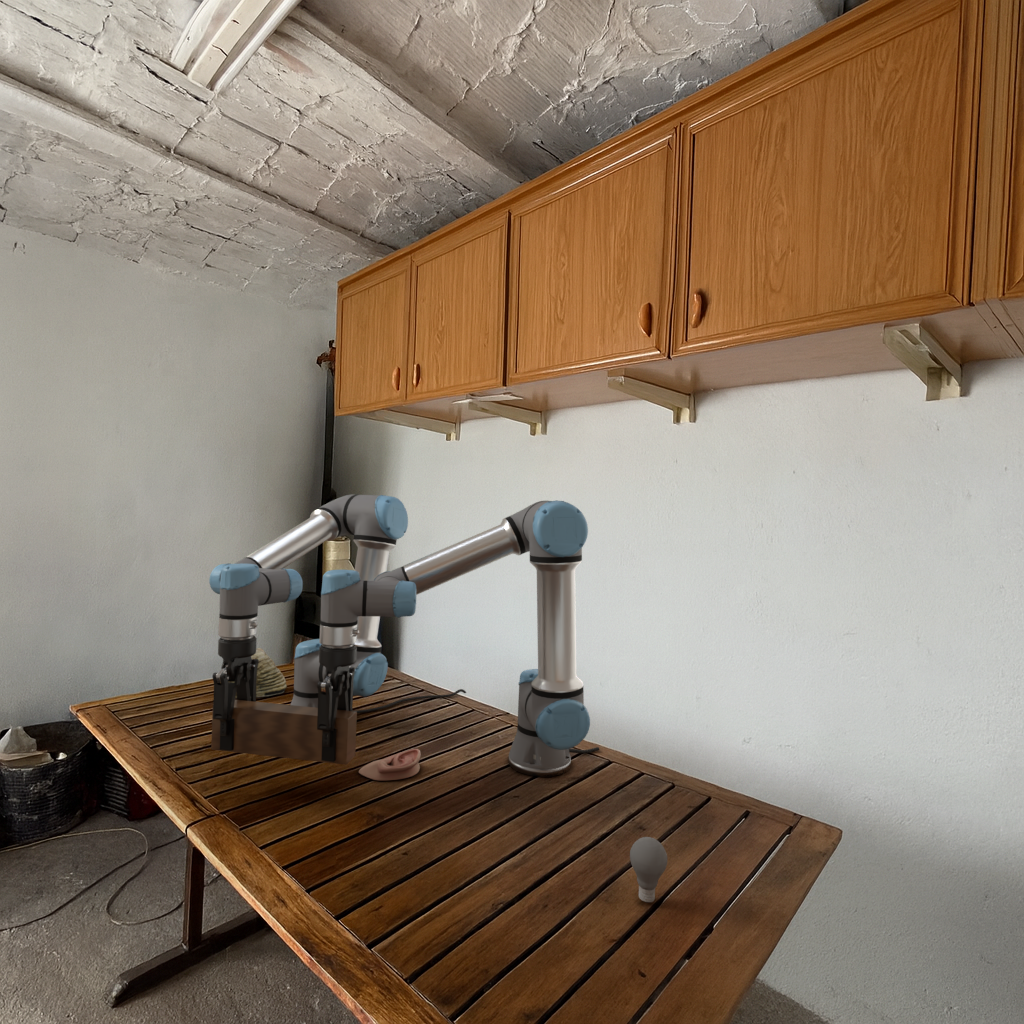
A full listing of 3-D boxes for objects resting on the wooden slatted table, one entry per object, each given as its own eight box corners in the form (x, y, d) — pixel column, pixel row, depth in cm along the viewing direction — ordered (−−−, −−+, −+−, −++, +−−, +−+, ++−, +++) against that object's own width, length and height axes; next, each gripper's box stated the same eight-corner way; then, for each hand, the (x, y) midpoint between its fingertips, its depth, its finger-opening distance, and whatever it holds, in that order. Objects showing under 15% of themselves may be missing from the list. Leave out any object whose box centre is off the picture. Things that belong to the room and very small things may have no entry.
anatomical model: (353, 759, 143) (374, 741, 154) (352, 777, 143) (373, 757, 154) (408, 767, 140) (426, 748, 152) (408, 785, 140) (425, 764, 152)
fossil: (218, 695, 195) (220, 647, 195) (278, 685, 208) (279, 640, 207) (228, 703, 189) (230, 653, 188) (289, 692, 201) (290, 645, 201)
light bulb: (623, 888, 106) (626, 829, 106) (658, 888, 107) (661, 829, 106) (633, 912, 100) (636, 849, 100) (670, 911, 101) (673, 849, 100)
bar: (211, 749, 134) (212, 705, 134) (224, 741, 139) (225, 698, 138) (346, 764, 130) (348, 718, 129) (355, 755, 134) (357, 711, 134)
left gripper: (229, 647, 126) (225, 763, 126) (275, 629, 144) (272, 731, 144) (195, 644, 127) (191, 759, 128) (245, 627, 145) (241, 728, 145)
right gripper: (337, 655, 123) (332, 775, 123) (371, 637, 140) (367, 741, 141) (301, 652, 124) (296, 771, 124) (339, 634, 141) (335, 738, 142)
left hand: (234, 744), depth 136 cm, fingers closed on bar, 5 cm apart
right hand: (334, 755), depth 132 cm, fingers closed on bar, 5 cm apart
